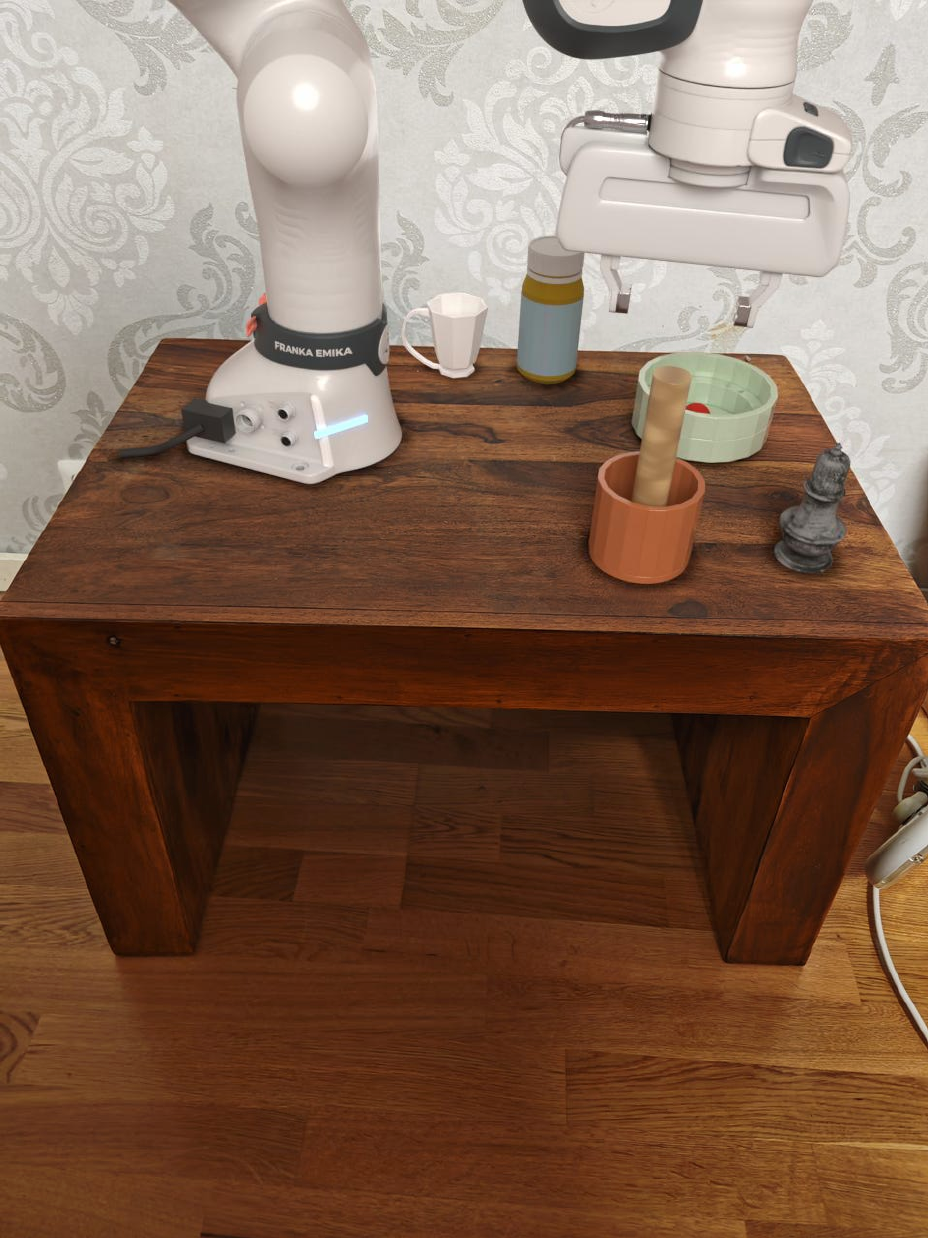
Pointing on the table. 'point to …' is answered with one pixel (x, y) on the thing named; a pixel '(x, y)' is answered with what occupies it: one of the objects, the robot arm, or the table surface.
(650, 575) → the crock
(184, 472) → the table surface
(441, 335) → the cup
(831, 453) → the grey chess piece
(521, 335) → the bottle
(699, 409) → the ball
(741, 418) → the bowl
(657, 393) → the stick
